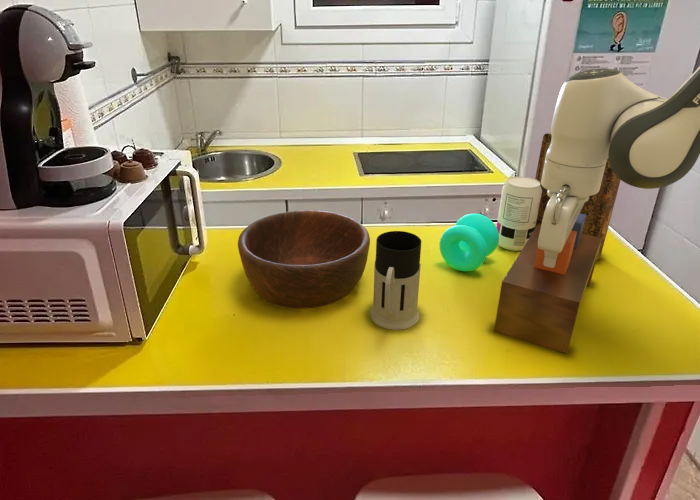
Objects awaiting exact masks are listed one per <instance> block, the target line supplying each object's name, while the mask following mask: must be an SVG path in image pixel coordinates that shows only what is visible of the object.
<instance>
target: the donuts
mask: <svg viewBox="0 0 700 500" xmlns="http://www.w3.org/2000/svg"><path fill="white" fill-rule="evenodd" d="M498 243H499V233H498V230H497V225H496V224H495V223H494V222H493V221H492V219H490V218H489V217H487V216H486V215H483V214H481V213H467V214H465V215H463V216H461V217H460V218H459V219H458V220H456V222H455V225H453V226H450V227H448V228H447V229H446V230H445V231H444V232H443V233H442V235H441V237H440V240H439V251H440V255H441V257H442V259H443V260H444V261H445V263H446V264H447V265H449V266H450V267H451V268H453V269H455V270H457V271H459V272H472V271H475V270H477V269H479V268H480V267H481V266H482V265H483V264H484V263H485V262H486V259H487V257H489V256H490V255H492V254H493V253H494V252H495V251H496V250H497V248H498V246H499V245H498Z"/></svg>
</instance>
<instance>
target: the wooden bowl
mask: <svg viewBox="0 0 700 500" xmlns="http://www.w3.org/2000/svg"><path fill="white" fill-rule="evenodd" d="M370 244H371V237H370V234H369V231H368V230H367V228H366V227H365V226H364V225H363V224H362V223H360V222H359V221H357V220H356V219H354V218H352V217H349V216H346V215H344V214H340V213H337V212H331V211H324V210H314V209H313V210H305V209H303V210H291V211H283V212H279V213H275V214H270V215H268V216H265V217H262V218H259V219H257V220H256V221H254V222H252V223H251V224H249V225H247V226H246V227H245V228H244V229H243V230H242V232H241V233H239V236H238V239H237V249H238V254H239V257H240V261H241V266H242V268H243V271H244V274H245V275H246V278H247V280H248V282H249V284H250V285H251V286H252V288H253V290H255V292H257V293H258V294H259V295H260V296H261V297H262V298H264V299H265V300H267V301H269V302H271V303H273V304H275V305H278V306H282V307H286V308H294V309H312V308H320V307H323V306H327V305H331V304H334V303H336V302H339V301H340V300H342V299H343V298H345V297H347V296H348V295H349V294H351V293H352V292H353V291H354V289H355V288H356V287H357V285H358V284H359V283H360V281H361V279H362V277H363V274H364V272H365V269H366V266H367V261H368V257H369V252H370V246H371V245H370Z"/></svg>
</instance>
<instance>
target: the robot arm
mask: <svg viewBox="0 0 700 500" xmlns="http://www.w3.org/2000/svg"><path fill="white" fill-rule="evenodd" d="M550 134H551V135H552V139H551V144H550V146H549V148H548V150H547V153H546V157H545V162H544V168H543V173H542V179H541V185H542V186H543V187H544V188H545V189H547V195H548V196H549V197H550V200H549V201H548V203H547V206H546V209H545V212H544V216H543V220H542V225H541V229H540V234H539V238H538V248H539V249H541V250H544V255H545V257H544V262H543V264H544V266H546V267H550V268H553V267H555V264H556V262H557V257H558V253H560V252H561V251H562V249H563V247H564V245H565V243H566V241H567V239H568V237H569V234H570V232H571V230H572V228H573V226H574V224H575V222H576V220H577V218H578V216H579V214H580V212H581V210H582V208H583V205H584V203H585V202H586V201H588V199H589V196H591V195H595V194H597V193H598V192H599V190H600V186H601V182H602V178H603V174H604V170H605V166H606V162H607V159H608V158H609V163H610V166H611V169H612V170H613V172H614V173H615V175H616V176H617V177H618V178H619V179H620V181H622V182H623V183H624V184H627V185H629V186H631V187H634V188H637V189H638V188H639V189H646V190H652V189H659V188H665V187H667V186H669V185H672V184H674V183H676V182H678V181H680V180H681V179H683V178H685V176H686V175H687V174H689V172H690V171H691V170H692V169H693V167H694V166H695V165H696V163H697V161H698V159H699V157H700V66H698V67H697V69H696V70H695V71H694V72H693V73H691V75H690V76H689V77H688V78H687V79H685V81H684V82H683V84H682V85H680V87H679V88H678V89H677V90H676V91H675V92H674V93H672V94H671V96H670V97H668V98H666V97H664V96H661V95H658V94H655V93H653V92H650V91H648V90H646V89H644V88H642V87H641V86H639V85H637V84H635V83H634V82H632V81H631V80H630V79H628V78H627V77H626V76H625V75H624V74H623V72H622V71H620V70H617V69H613V68H595V69H589V70H588V69H587V70H583V71H579V72H576V73H574V74H572V75H571V76H570V77H568V79H566V80H565V81H564V83H562V86H561V88H560V90H559V93H558V96H557V99H556V103H555V106H554V111H553V116H552V120H551V125H550Z"/></svg>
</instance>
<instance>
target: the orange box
mask: <svg viewBox="0 0 700 500" xmlns="http://www.w3.org/2000/svg"><path fill="white" fill-rule="evenodd" d="M576 234H577V231H572V230H571V232H570V234H569V237H568V239H567V241H566V243H565V245H564V247H563V249H562V251H561V252H560V253H558V257H557V262H556V264H555V267H553V268H550V267H546V266H544V264H543V262H544V257H545V255H544V250H541V249H539V248H538V250H537V255H536V260H535V265H534V267H535V268H539V269H543V270H547V271H551V272H555V273H559V274H563V275H565V273H566V270H567V268H568V266H569V264H570V260H571V256H572V252H573V247H574V243H575V239H576Z"/></svg>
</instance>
